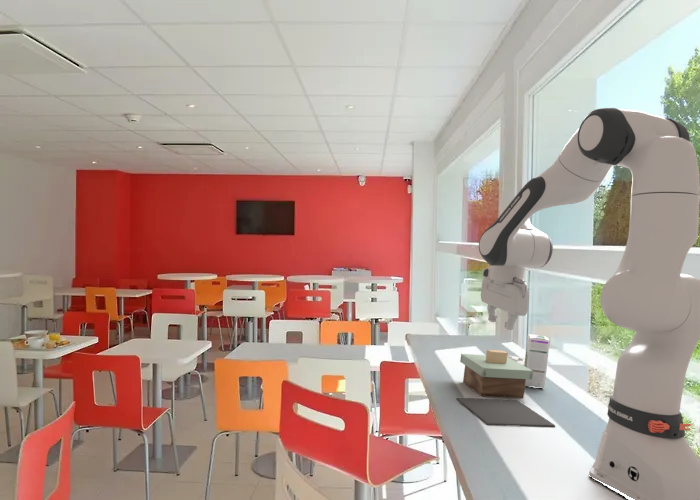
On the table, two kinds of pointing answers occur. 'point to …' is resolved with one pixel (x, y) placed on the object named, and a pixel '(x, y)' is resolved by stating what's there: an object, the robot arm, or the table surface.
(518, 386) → the walnut box
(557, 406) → the table surface
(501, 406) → the black mat
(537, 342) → the syrup box
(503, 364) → the green lid
